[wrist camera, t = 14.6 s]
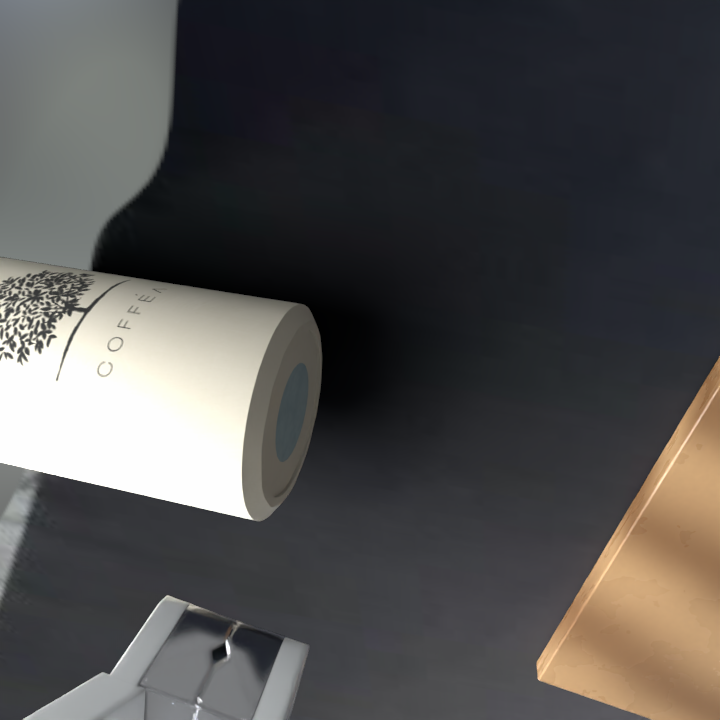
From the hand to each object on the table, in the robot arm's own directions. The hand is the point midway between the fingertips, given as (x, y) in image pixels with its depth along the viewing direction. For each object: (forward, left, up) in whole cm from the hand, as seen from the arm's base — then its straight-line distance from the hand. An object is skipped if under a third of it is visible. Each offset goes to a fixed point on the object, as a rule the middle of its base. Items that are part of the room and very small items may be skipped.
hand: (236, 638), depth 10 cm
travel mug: (+1, -2, -9) cm, 9 cm away
